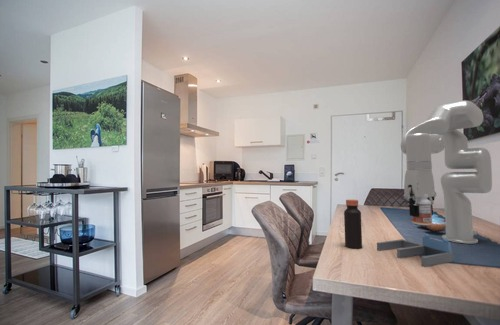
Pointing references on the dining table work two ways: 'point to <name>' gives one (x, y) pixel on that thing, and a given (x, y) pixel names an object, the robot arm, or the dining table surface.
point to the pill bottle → (423, 212)
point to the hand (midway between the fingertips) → (421, 215)
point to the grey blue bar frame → (421, 250)
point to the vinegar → (352, 225)
